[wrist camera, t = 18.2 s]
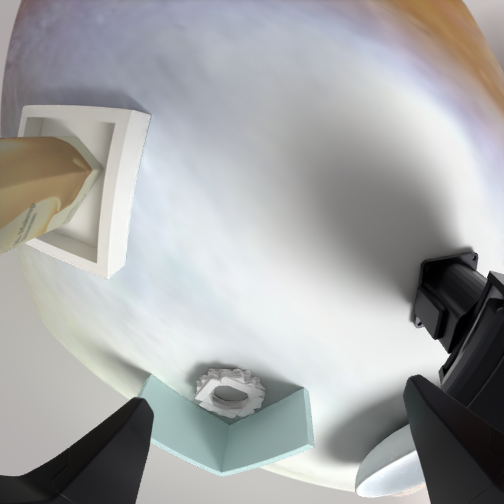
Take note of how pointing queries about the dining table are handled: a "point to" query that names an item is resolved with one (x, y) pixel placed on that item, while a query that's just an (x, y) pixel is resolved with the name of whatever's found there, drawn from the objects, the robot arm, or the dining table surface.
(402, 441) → the serving bowl
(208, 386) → the right angle wall
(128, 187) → the holder tray
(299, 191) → the dining table surface
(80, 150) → the skincare box
